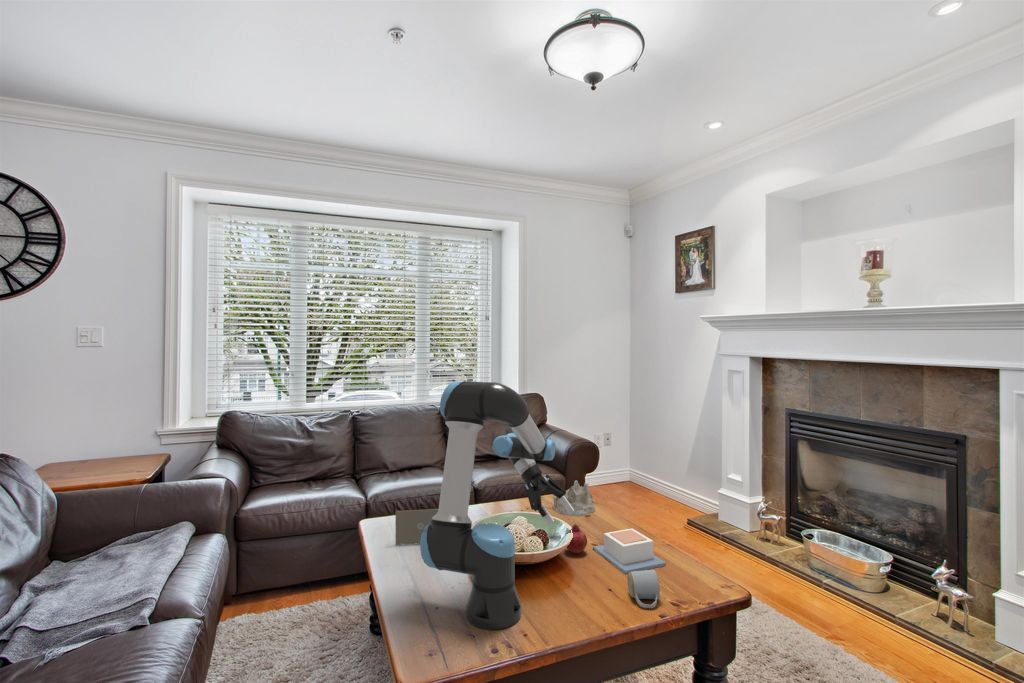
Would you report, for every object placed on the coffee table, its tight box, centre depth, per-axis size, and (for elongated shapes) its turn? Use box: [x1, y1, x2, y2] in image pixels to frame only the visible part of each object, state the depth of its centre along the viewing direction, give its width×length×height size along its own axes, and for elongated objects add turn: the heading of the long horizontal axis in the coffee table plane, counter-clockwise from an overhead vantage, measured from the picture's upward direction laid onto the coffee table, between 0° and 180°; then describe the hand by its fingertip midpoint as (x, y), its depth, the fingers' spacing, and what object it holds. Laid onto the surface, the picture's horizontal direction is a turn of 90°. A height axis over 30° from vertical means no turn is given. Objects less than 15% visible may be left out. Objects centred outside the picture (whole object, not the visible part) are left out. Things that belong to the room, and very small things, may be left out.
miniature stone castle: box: [552, 480, 596, 517], centre depth 220 cm, size 16×16×15 cm
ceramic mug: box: [626, 569, 661, 610], centre depth 145 cm, size 11×8×8 cm
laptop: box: [394, 508, 439, 546], centre depth 190 cm, size 18×12×13 cm
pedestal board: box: [592, 528, 667, 575], centre depth 173 cm, size 20×16×7 cm
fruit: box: [565, 523, 588, 554], centre depth 176 cm, size 8×8×10 cm
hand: (562, 517), depth 181 cm, fingers open, 13 cm apart
